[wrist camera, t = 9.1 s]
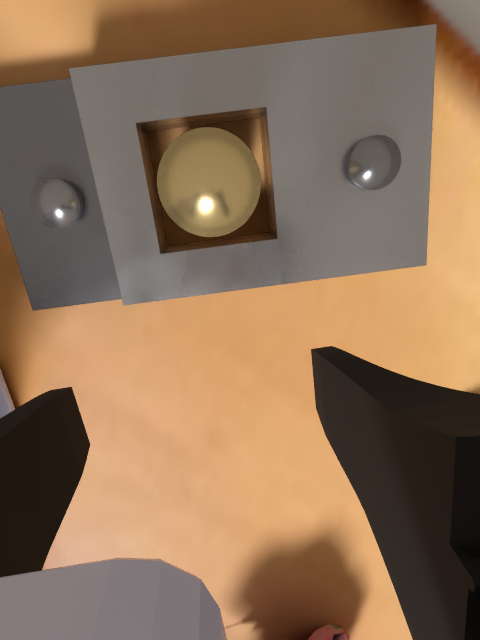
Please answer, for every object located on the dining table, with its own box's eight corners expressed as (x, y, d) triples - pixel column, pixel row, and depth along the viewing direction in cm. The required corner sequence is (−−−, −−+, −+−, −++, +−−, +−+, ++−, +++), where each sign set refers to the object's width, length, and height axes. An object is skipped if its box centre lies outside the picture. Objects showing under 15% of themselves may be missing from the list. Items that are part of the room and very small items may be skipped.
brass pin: (185, 223, 18) (169, 244, 12) (172, 155, 17) (145, 136, 11) (248, 213, 18) (267, 228, 12) (238, 144, 17) (253, 119, 11)
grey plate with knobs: (43, 303, 19) (13, 323, 16) (-19, 98, 16) (-69, 79, 13) (401, 256, 19) (433, 267, 17) (405, 46, 16) (445, 17, 14)
